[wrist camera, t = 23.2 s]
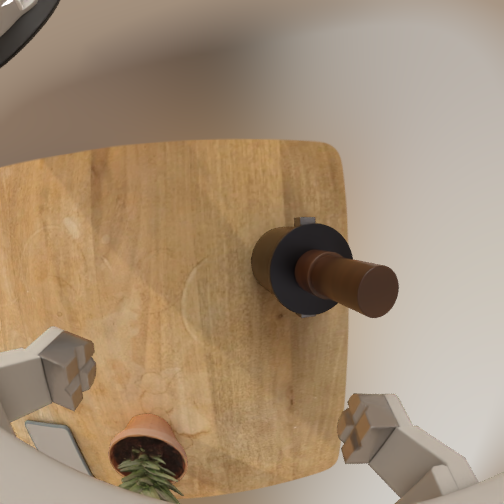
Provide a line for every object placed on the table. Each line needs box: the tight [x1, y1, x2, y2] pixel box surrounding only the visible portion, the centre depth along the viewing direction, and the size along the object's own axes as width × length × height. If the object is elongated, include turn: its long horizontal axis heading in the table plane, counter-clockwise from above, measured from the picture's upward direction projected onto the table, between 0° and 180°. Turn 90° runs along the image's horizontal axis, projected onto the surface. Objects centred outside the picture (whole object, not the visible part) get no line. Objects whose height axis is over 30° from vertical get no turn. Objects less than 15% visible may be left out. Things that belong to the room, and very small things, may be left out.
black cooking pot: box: [251, 217, 353, 318], centre depth 31 cm, size 10×9×9 cm
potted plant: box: [108, 414, 188, 504], centre depth 21 cm, size 10×10×25 cm
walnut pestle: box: [295, 249, 399, 318], centre depth 22 cm, size 4×4×10 cm
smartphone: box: [25, 420, 93, 477], centre depth 30 cm, size 8×1×15 cm
